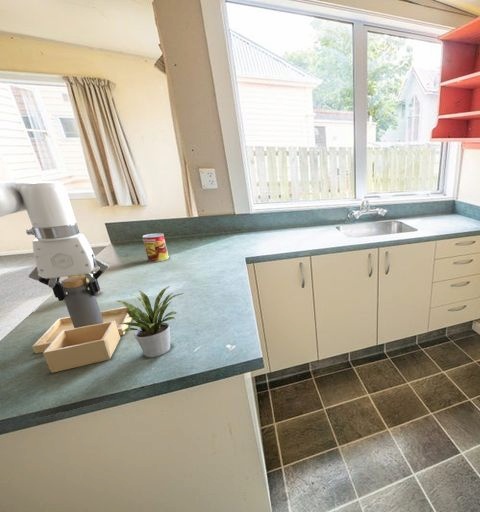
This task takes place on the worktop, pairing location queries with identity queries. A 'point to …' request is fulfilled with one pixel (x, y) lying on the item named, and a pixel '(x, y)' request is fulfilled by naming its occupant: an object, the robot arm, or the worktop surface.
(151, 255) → the canned food
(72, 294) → the bottle
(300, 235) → the worktop surface
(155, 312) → the house plant
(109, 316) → the tray
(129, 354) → the worktop surface
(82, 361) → the bin
